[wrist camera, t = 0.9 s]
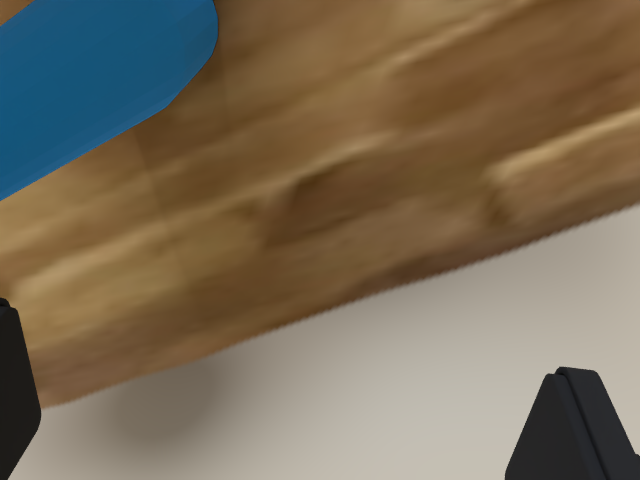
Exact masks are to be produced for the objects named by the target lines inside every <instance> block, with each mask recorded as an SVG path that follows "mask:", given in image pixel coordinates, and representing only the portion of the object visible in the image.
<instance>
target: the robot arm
mask: <svg viewBox="0 0 640 480" xmlns="http://www.w3.org/2000/svg"><path fill="white" fill-rule="evenodd" d="M40 420H41V408H40V404H39V400H38V395H37V391H36V387H35V383H34V378H33V374H32V370H31V365H30V361H29V357H28V353H27V348H26V344H25V340H24V335H23V331H22V327H21V322H20V318H19V314H18V311H17V310H16V309H15V308H12V307H10V304H9V302H8V301H7V300H6V299H4V298H0V480H8V478H9V476H10V475H11V473H12V471H13V470H14V468H15V467H16V465H17V463H18V462H19V459H20V458H21V457H22V455H23V453H24V452H25V450H26V448H27V447H28V445H29V443H30V442H31V440H32V438H33V437H34V435H35V434H36V432H37V430H38V427H39V424H40ZM505 480H640V456H639V455H638V454H635V452H634V450H633V448H632V446H631V443H630V441H629V439H628V437H627V435H626V432H625V430H624V428H623V426H622V424H621V422H620V419H619V418H618V415H617V413H616V411H615V409H614V406H613V404H612V402H611V400H610V398H609V396H608V393H607V391H606V389H605V387H604V385H603V382H602V380H601V378H600V376H599V375H598V373H597V372H595V371H593V370H586V369H577V368H569V367H559V368H558V369H557V370H556V372H555V374H547V375H546V376H545V378H544V380H543V382H542V385H541V387H540V389H539V392H538V394H537V397H536V399H535V401H534V404H533V406H532V409H531V411H530V413H529V416H528V418H527V421H526V423H525V426H524V428H523V430H522V433H521V435H520V438H519V440H518V442H517V445H516V447H515V449H514V452H513V454H512V457H511V459H510V461H509V464H508V466H507V469H506V473H505Z"/></svg>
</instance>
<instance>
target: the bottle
mask: <svg viewBox="0 0 640 480" xmlns="http://www.w3.org/2000/svg"><path fill="white" fill-rule="evenodd" d="M217 38H218V16H217V13H216V10H215V6H214V3H213V0H35V1H33V2H32V3H31V4H29V5H28V6H27V7H25V8H24V9H23V10H21V11H20V12H19V13H17V14H16V15H15V16H14V17H12V18H11V19H10V20H8V21H7V22H6V23H4V24H3V25H2V26H0V201H1V200H3V199H5V198H6V197H8V196H10V195H12V194H14V193H15V192H17V191H19V190H21V189H23V188H24V187H26V186H28V185H30V184H31V183H33V182H35V181H37V180H39V179H40V178H42V177H44V176H46V175H48V174H49V173H51V172H53V171H55V170H56V169H58V168H60V167H62V166H64V165H65V164H67V163H69V162H71V161H73V160H74V159H76V158H78V157H80V156H81V155H83V154H85V153H87V152H89V151H90V150H92V149H94V148H96V147H97V146H99V145H101V144H103V143H105V142H106V141H108V140H110V139H112V138H114V137H115V136H117V135H119V134H121V133H122V132H124V131H126V130H128V129H130V128H131V127H133V126H135V125H137V124H139V123H140V122H142V121H144V120H146V119H147V118H149V117H151V116H153V115H154V114H156V113H158V112H159V111H161V110H162V109H164V108H166V107H167V106H168V105H169V104H170V103H171V102H172V100H173V99H174V98H175V97H176V96H177V95H178V94H179V93H180V92H181V91H182V89H183V88H184V87H185V86H186V85H187V84H188V83H189V82H190V81H191V80H192V78H193V77H194V76H195V75H196V74H197V73H198V72H199V71H200V70H201V68H202V67H203V66H204V65H205V63H206V62H207V61H208V59H209V58H210V57H211V56H212V53H213V50H214V47H215V44H216V41H217Z"/></svg>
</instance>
